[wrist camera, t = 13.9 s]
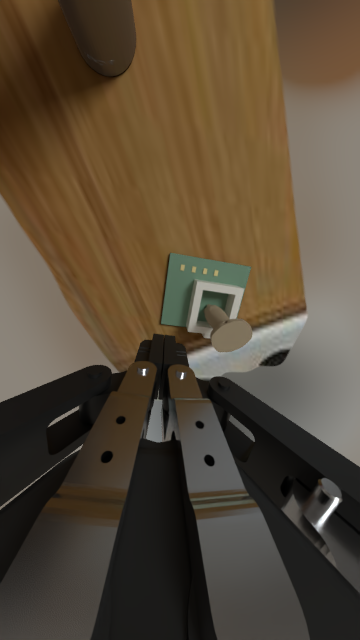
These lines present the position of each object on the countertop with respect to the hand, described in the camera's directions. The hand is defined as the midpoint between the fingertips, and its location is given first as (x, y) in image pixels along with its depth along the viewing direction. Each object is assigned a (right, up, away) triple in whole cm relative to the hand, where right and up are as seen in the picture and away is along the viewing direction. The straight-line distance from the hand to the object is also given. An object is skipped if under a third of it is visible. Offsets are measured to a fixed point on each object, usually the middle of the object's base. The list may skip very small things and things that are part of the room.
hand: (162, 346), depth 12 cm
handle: (+8, +4, +29) cm, 31 cm away
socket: (+8, +5, +29) cm, 30 cm away
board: (+7, +8, +29) cm, 30 cm away
